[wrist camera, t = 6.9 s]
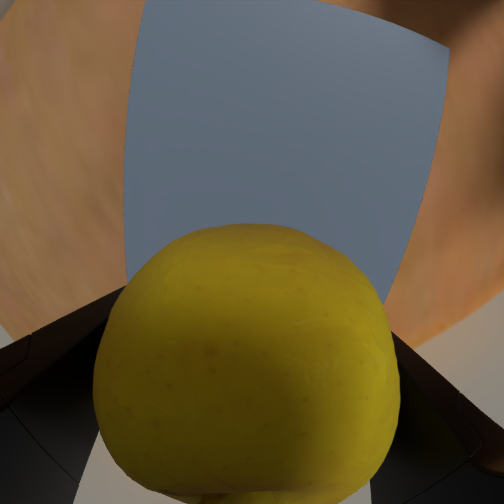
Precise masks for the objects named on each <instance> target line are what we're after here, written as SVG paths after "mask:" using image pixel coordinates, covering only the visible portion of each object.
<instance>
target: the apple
mask: <svg viewBox="0 0 504 504" xmlns="http://www.w3.org/2000/svg"><path fill="white" fill-rule="evenodd" d="M93 402H94V408H95V413H96V417H97V422H98V426H99V430H100V434H101V436H102V438H103V441H104V443H105V445H106V447H107V449H108V451H109V453H110V454H111V456H112V458H113V459H114V461H115V463H116V464H117V465H118V466H119V467H120V468H121V469H122V470H123V471H124V472H125V473H126V475H127V476H129V477H130V478H131V479H132V480H134V481H136V482H137V483H138V484H140V485H142V486H143V487H145V488H146V489H148V490H151V491H155V492H158V493H161V494H164V495H166V496H169V497H171V498H173V499H176V500H179V501H181V502H184V503H187V504H337V503H339V502H341V501H343V500H345V499H346V498H347V497H349V496H350V495H352V494H353V493H355V492H357V490H358V489H360V488H361V487H363V486H364V485H365V484H366V483H367V482H368V481H369V480H370V479H371V478H372V477H373V476H374V474H375V473H376V472H377V470H378V469H379V467H380V466H381V464H382V463H383V461H384V459H385V457H386V455H387V453H388V451H389V448H390V446H391V444H392V441H393V438H394V434H395V431H396V427H397V424H398V414H399V408H400V376H399V372H398V367H397V358H396V355H395V350H394V343H393V339H392V334H391V330H390V327H389V323H388V319H387V316H386V312H385V310H384V307H383V304H382V302H381V300H380V299H379V297H378V295H377V292H376V289H375V288H374V287H373V285H372V284H371V282H370V281H369V279H368V278H367V276H366V275H365V274H364V273H363V272H362V271H361V270H360V269H359V268H358V267H357V266H356V265H355V264H354V263H353V262H352V261H351V260H350V259H349V258H348V257H347V256H346V255H344V254H343V253H341V252H339V251H337V250H335V249H334V248H332V247H330V246H329V245H327V244H325V243H323V242H321V241H319V240H317V239H315V238H313V237H311V236H310V235H308V234H306V233H304V232H301V231H299V230H296V229H293V228H289V227H285V226H281V225H274V224H248V223H243V224H228V225H224V226H220V227H211V228H204V229H200V230H196V231H193V232H191V233H189V234H186V235H184V236H182V237H180V238H177V239H176V240H174V241H172V242H170V243H168V244H167V245H166V246H165V247H164V248H163V249H161V250H160V251H159V252H158V253H157V254H155V255H154V256H153V257H152V258H151V259H150V260H149V261H148V262H146V263H145V264H144V265H143V266H142V268H141V269H140V270H139V271H138V272H137V273H136V274H135V275H134V276H133V277H132V279H131V280H130V281H129V283H128V284H127V285H126V287H125V288H124V289H123V291H122V292H121V294H120V295H119V297H118V299H117V301H116V302H115V304H114V306H113V308H112V309H111V313H110V316H109V319H108V322H107V325H106V328H105V331H104V333H103V336H102V339H101V342H100V345H99V348H98V352H97V356H96V361H95V366H94V374H93Z"/></svg>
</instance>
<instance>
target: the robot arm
mask: <svg viewBox="0 0 504 504" xmlns="http://www.w3.org/2000/svg"><path fill="white" fill-rule="evenodd" d="M125 287H126V286H124V287H122V288H120V289H118V290H116V291H114V292H112V293H109V294H107V295H105V296H103V297H101V298H99V299H97V300H95V301H93V302H91V303H89V304H87V305H85V306H83V307H81V308H80V309H78V310H76V311H74V312H72V313H70V314H68V315H66V316H64V317H62V318H60V319H58V320H56V321H54V322H52V323H50V324H48V325H46V326H44V327H42V328H40V329H39V330H37V331H35V332H33V333H32V334H31V335H30V334H29V335H27V336H25V337H23V338H21V339H19V340H17V341H15V342H13V343H11V344H9V345H7V346H5V347H3V348H1V349H0V504H73V501H74V499H75V496H76V493H77V490H78V487H79V483H80V480H81V477H82V475H83V472H84V469H85V467H86V464H87V461H88V458H89V456H90V453H91V450H92V448H93V445H94V442H95V440H96V437H97V435H98V432H99V426H98V422H97V417H96V413H95V408H94V402H93V374H94V366H95V361H96V356H97V352H98V348H99V345H100V342H101V339H102V336H103V333H104V331H105V328H106V325H107V322H108V319H109V316H110V313H111V309H112V308H113V306H114V304H115V302H116V301H117V299H118V297H119V295H120V294H121V292H122V291H123V289H124V288H125ZM391 334H392V339H393V343H394V350H395V355H396V358H397V367H398V372H399V376H400V408H399V414H398V424H397V427H396V431H395V434H394V438H393V441H392V444H391V446H390V448H389V451H388V453H387V455H386V457H385V459H384V461H383V463H382V464H381V466H380V467H379V469H378V470H377V472H376V473H375V474H374V476H373V477H372V478H371V479H370V488H371V500H372V504H504V429H503V428H502V427H501V426H499V425H498V424H497V423H495V422H494V421H493V420H492V419H491V418H489V417H488V416H487V415H486V414H484V413H483V412H482V411H481V410H480V409H478V408H477V407H476V406H475V405H474V404H473V403H472V402H471V401H469V400H468V399H467V398H466V397H465V396H464V395H463V394H462V393H460V392H459V390H457V389H456V388H455V387H454V386H453V385H452V384H451V383H450V382H449V381H447V380H446V379H445V378H444V377H443V376H442V375H441V374H440V373H438V372H437V371H436V370H435V369H434V368H433V367H432V366H431V365H429V364H428V363H427V362H426V361H425V360H424V359H422V357H420V356H419V355H418V354H417V353H416V352H415V351H414V350H413V349H411V348H410V347H409V346H408V345H407V344H406V343H404V342H403V341H402V340H401V339H400V338H399V337H398V336H396V335H395V334H394V333H393V332H392V331H391Z"/></svg>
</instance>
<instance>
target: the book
mask: <svg viewBox="0 0 504 504" xmlns="http://www.w3.org/2000/svg"><path fill="white" fill-rule="evenodd" d="M449 55H450V49H449V48H447V47H446V46H444V45H442V44H440V43H438V42H436V41H433V40H431V39H429V38H427V37H425V36H423V35H420V34H418V33H416V32H414V31H411V30H409V29H406V28H404V27H401V26H399V25H396V24H394V23H391V22H388V21H386V20H383V19H380V18H377V17H374V16H371V15H368V14H365V13H362V12H358V11H355V10H351V9H348V8H344V7H340V6H337V5H333V4H328V3H324V2H320V1H315V0H146V2H145V6H144V10H143V15H142V19H141V24H140V29H139V34H138V39H137V45H136V51H135V57H134V63H133V70H132V77H131V85H130V93H129V102H128V112H127V124H126V138H125V157H124V237H125V256H126V271H127V283H129V281H130V280H131V279H132V277H133V276H134V275H135V274H136V273H137V272H138V271H139V270H140V269H141V268H142V266H143V265H144V264H145V263H146V262H148V261H149V260H150V259H151V258H152V257H153V256H154V255H155V254H157V253H158V252H159V251H160V250H161V249H163V248H164V247H165V246H166V245H167V244H168V243H170V242H172V241H174V240H176V239H177V238H180V237H182V236H184V235H186V234H189V233H191V232H193V231H196V230H200V229H204V228H211V227H220V226H224V225H228V224H243V223H248V224H274V225H281V226H285V227H289V228H293V229H296V230H299V231H301V232H304V233H306V234H308V235H310V236H311V237H313V238H315V239H317V240H319V241H321V242H323V243H325V244H327V245H329V246H330V247H332V248H334V249H335V250H337V251H339V252H341V253H343V254H344V255H346V256H347V257H348V258H349V259H350V260H351V261H352V262H353V263H354V264H355V265H356V266H357V267H358V268H359V269H360V270H361V271H362V272H363V273H364V274H365V275H366V276H367V278H368V279H369V281H370V282H371V284H372V285H373V287H374V288H375V289H376V292H377V295H378V297H379V299H380V300H381V302H382V304H384V302H385V300H386V298H387V295H388V293H389V290H390V288H391V286H392V283H393V281H394V278H395V276H396V273H397V271H398V268H399V266H400V263H401V260H402V258H403V255H404V252H405V250H406V247H407V244H408V241H409V238H410V236H411V233H412V230H413V227H414V224H415V221H416V217H417V214H418V211H419V208H420V204H421V201H422V198H423V194H424V191H425V187H426V184H427V180H428V176H429V172H430V168H431V164H432V160H433V156H434V151H435V147H436V142H437V138H438V133H439V128H440V122H441V117H442V111H443V105H444V98H445V91H446V84H447V76H448V66H449Z"/></svg>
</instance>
